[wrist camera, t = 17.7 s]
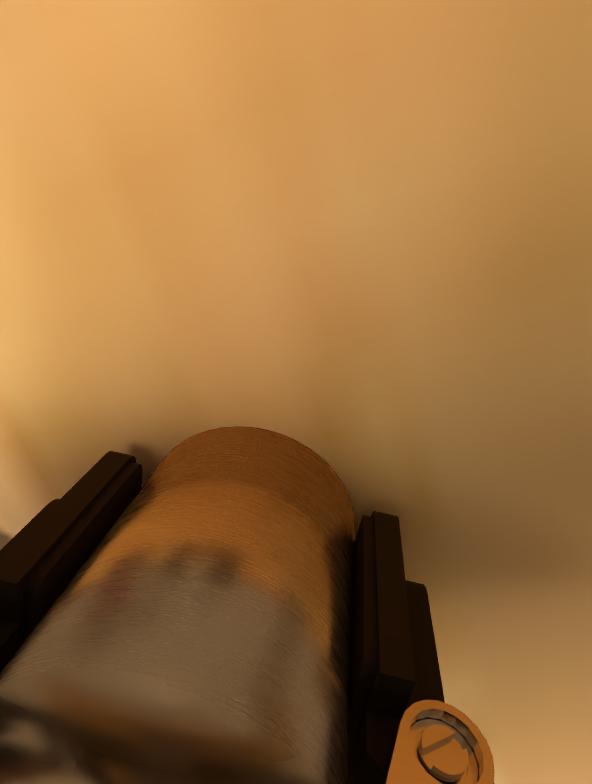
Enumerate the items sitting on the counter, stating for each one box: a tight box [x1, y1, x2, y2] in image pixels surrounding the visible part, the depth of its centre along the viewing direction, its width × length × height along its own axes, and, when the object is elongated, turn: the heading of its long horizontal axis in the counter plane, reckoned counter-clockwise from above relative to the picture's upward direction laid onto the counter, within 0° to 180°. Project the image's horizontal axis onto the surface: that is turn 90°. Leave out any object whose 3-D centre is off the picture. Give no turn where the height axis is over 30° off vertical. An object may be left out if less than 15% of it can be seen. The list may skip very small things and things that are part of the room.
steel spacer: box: [0, 427, 354, 784], centre depth 9 cm, size 5×5×6 cm
